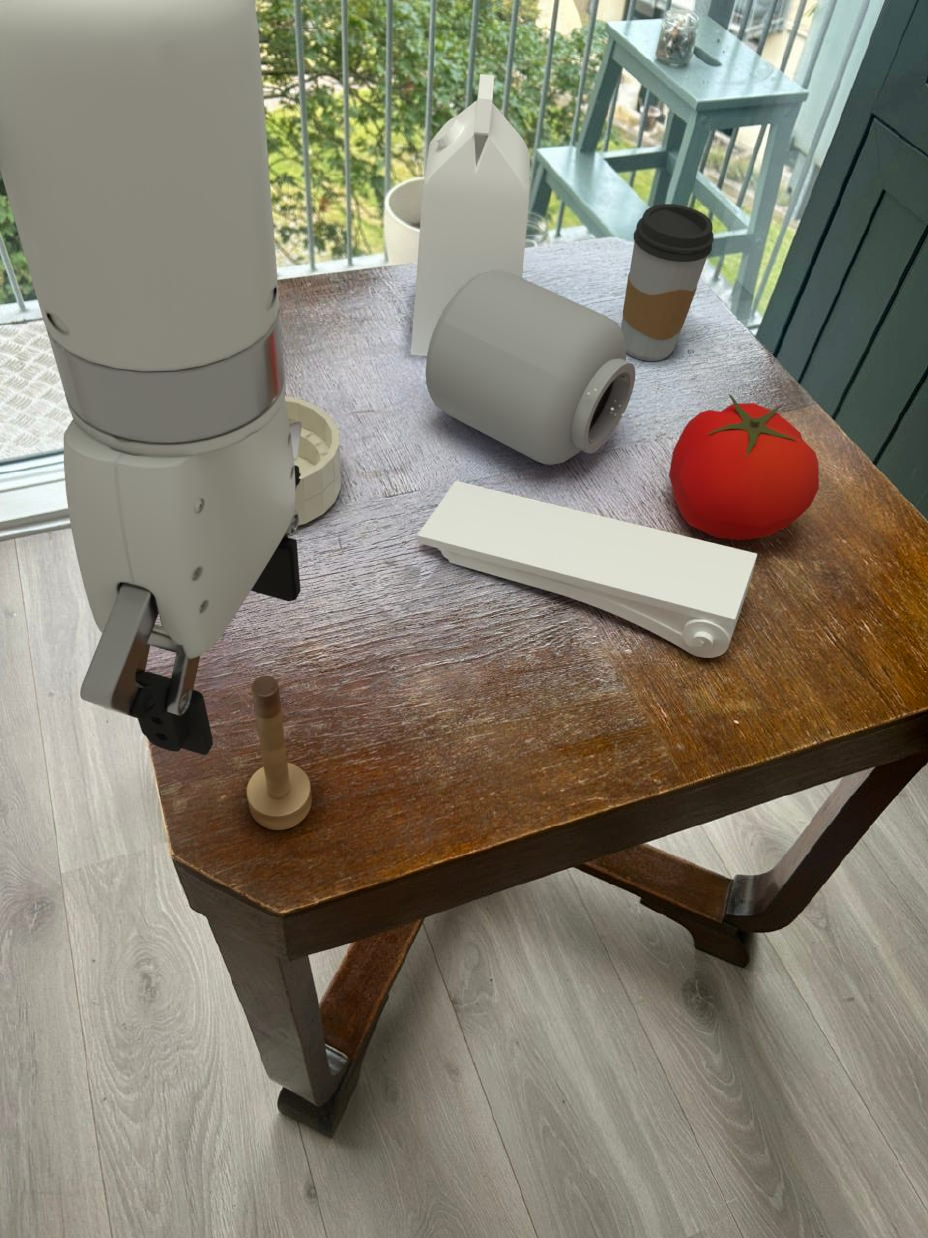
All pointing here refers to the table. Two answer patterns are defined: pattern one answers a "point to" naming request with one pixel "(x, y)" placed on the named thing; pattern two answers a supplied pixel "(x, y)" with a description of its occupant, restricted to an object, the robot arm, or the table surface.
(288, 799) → the stirrer
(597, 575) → the wall bracket
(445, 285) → the milk
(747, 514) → the tomato
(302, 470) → the bowl
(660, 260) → the coffee cup
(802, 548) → the table surface
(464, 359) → the jar
